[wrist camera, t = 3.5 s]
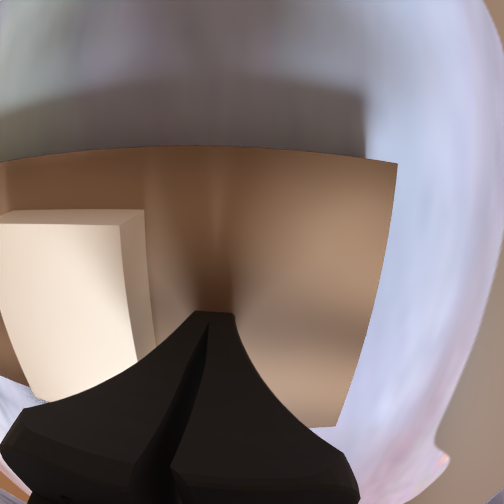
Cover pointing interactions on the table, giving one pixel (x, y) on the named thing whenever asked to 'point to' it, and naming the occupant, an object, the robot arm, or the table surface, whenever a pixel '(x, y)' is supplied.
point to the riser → (240, 249)
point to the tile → (75, 295)
